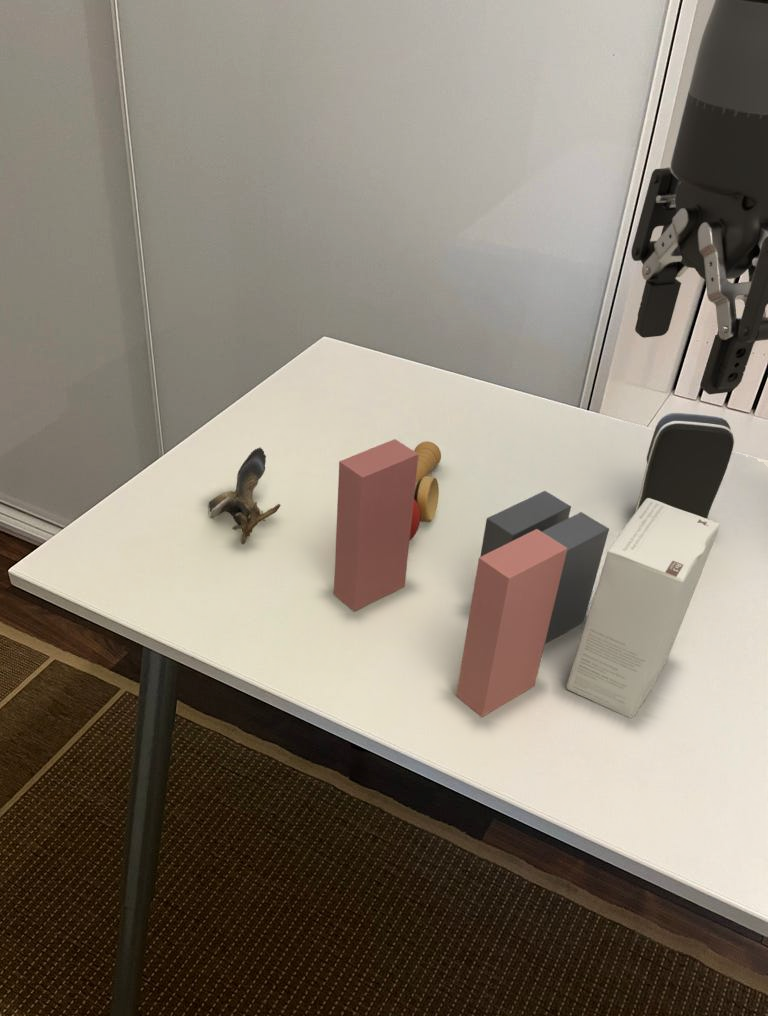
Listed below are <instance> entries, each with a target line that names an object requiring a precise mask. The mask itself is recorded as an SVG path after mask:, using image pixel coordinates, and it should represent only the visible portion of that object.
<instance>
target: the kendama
mask: <svg viewBox="0 0 768 1016" xmlns="http://www.w3.org/2000/svg"><path fill="white" fill-rule="evenodd" d="M413 451H415V452H416V453H418V454H419V455H418V465H417V474H416V484H415V493H414V503H413V512H412V522H411V531H410V541H412V540H413V538H414V537H415V535H416V534H417V532H418V531H419V528H420V524H421V522H422V523H430V522H432V521H433V519H434V518H435V516H436V514H437V509H438V504H439V494H440V491H439V489H440V488H439V481H438V478H437V477H435V476H431V475H430V474H431V472H432V471H433V470H434V469H435V468H436V467H437V466H438V465H439V463H440V462H441V460H442V452H441V450H440V447H439V446H438V445H437V444H435V443H434V442H432V441H422V442H420V443H419V444H417V445H416V447H415V448H414V450H413ZM429 475H430V476H429Z"/></svg>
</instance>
